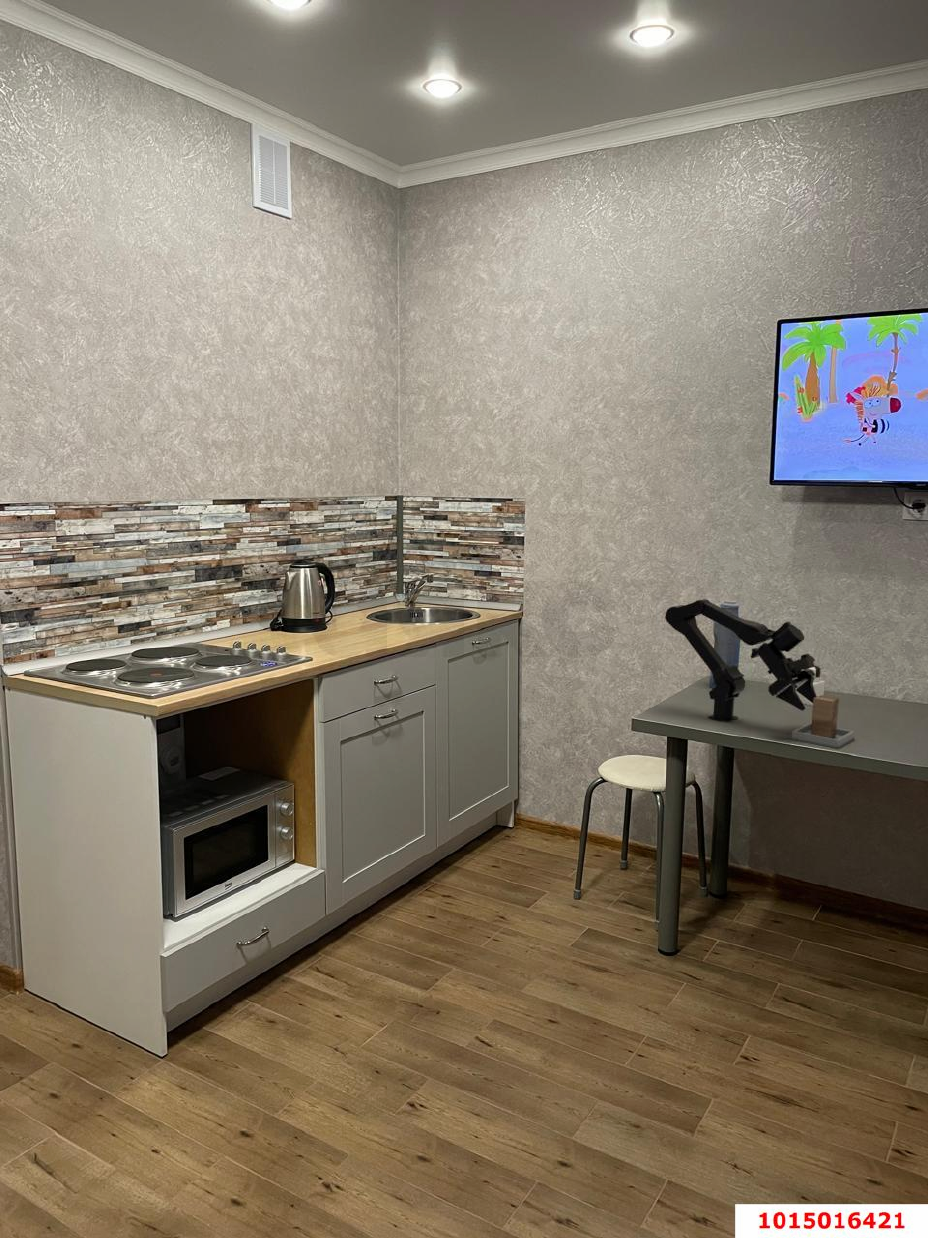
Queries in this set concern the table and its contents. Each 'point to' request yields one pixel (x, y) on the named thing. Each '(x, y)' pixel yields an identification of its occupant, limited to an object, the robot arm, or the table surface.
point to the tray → (839, 741)
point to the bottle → (726, 640)
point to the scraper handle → (824, 716)
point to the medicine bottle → (817, 686)
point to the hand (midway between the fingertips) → (810, 707)
